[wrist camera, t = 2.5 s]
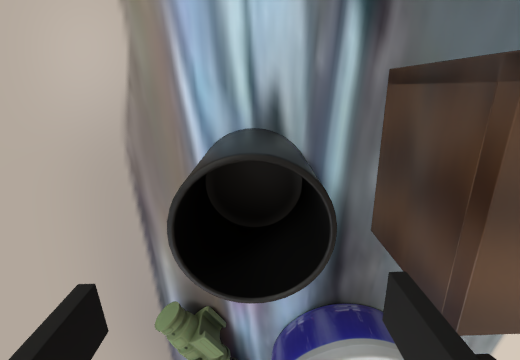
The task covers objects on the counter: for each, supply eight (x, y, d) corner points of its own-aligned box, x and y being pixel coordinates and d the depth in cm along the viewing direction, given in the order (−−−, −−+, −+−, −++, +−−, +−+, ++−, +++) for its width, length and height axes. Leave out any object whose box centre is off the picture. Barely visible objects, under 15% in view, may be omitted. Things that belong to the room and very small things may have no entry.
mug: (191, 244, 25) (157, 325, 17) (206, 117, 21) (173, 137, 13) (288, 259, 26) (303, 345, 17) (320, 139, 22) (360, 171, 13)
